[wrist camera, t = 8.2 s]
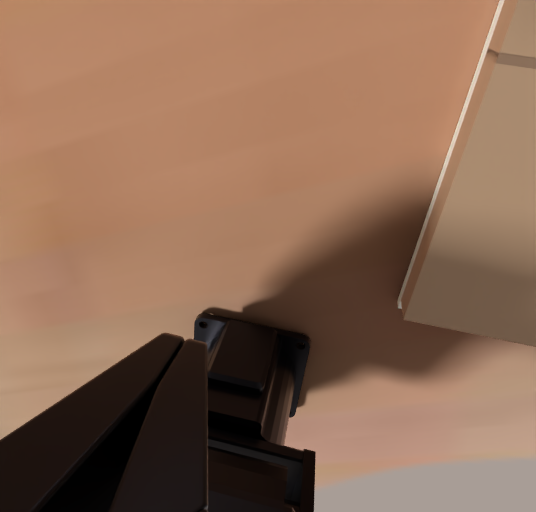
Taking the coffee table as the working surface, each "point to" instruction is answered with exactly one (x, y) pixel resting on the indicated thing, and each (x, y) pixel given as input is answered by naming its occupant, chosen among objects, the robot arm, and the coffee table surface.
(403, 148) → the coffee table surface
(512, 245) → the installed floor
